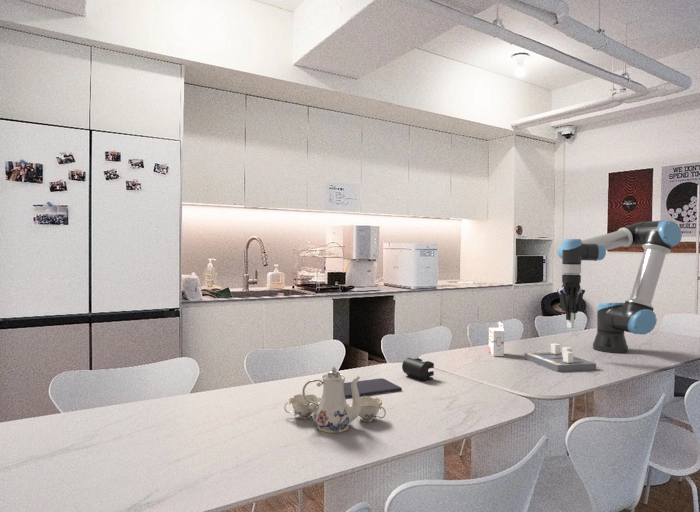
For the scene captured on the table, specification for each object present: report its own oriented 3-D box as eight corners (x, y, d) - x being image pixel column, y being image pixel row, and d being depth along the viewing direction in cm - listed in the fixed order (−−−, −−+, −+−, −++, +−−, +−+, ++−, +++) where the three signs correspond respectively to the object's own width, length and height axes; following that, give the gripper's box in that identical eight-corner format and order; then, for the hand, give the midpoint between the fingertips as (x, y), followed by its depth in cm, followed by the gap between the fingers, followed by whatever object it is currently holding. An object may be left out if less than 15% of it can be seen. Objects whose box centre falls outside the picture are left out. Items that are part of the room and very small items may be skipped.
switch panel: (559, 357, 214) (559, 351, 214) (596, 369, 193) (596, 363, 193) (524, 358, 210) (524, 352, 210) (557, 371, 188) (557, 365, 188)
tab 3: (568, 360, 195) (568, 351, 195) (573, 362, 192) (573, 352, 192) (562, 361, 195) (563, 351, 195) (567, 362, 192) (568, 352, 192)
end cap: (401, 376, 178) (401, 358, 178) (415, 373, 183) (415, 356, 182) (420, 382, 170) (420, 363, 170) (434, 379, 174) (434, 361, 174)
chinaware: (382, 419, 138) (383, 360, 139) (388, 435, 121) (389, 369, 123) (285, 418, 137) (287, 359, 139) (278, 434, 121) (280, 368, 122)
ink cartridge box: (487, 352, 222) (488, 320, 222) (498, 352, 222) (499, 321, 222) (492, 356, 213) (493, 323, 213) (504, 357, 213) (504, 324, 213)
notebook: (344, 400, 151) (401, 392, 160) (344, 395, 151) (401, 387, 160) (328, 389, 162) (382, 382, 172) (328, 384, 162) (382, 377, 171)
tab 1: (555, 352, 211) (555, 343, 211) (560, 353, 208) (560, 344, 208) (550, 352, 211) (550, 343, 211) (555, 354, 208) (555, 344, 208)
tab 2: (567, 356, 204) (567, 346, 204) (572, 357, 201) (572, 348, 201) (562, 356, 203) (562, 347, 203) (566, 358, 200) (567, 348, 200)
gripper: (577, 273, 215) (577, 325, 216) (553, 273, 212) (552, 326, 213) (590, 274, 208) (589, 328, 209) (564, 274, 205) (563, 329, 205)
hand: (570, 327), depth 211 cm, fingers closed
